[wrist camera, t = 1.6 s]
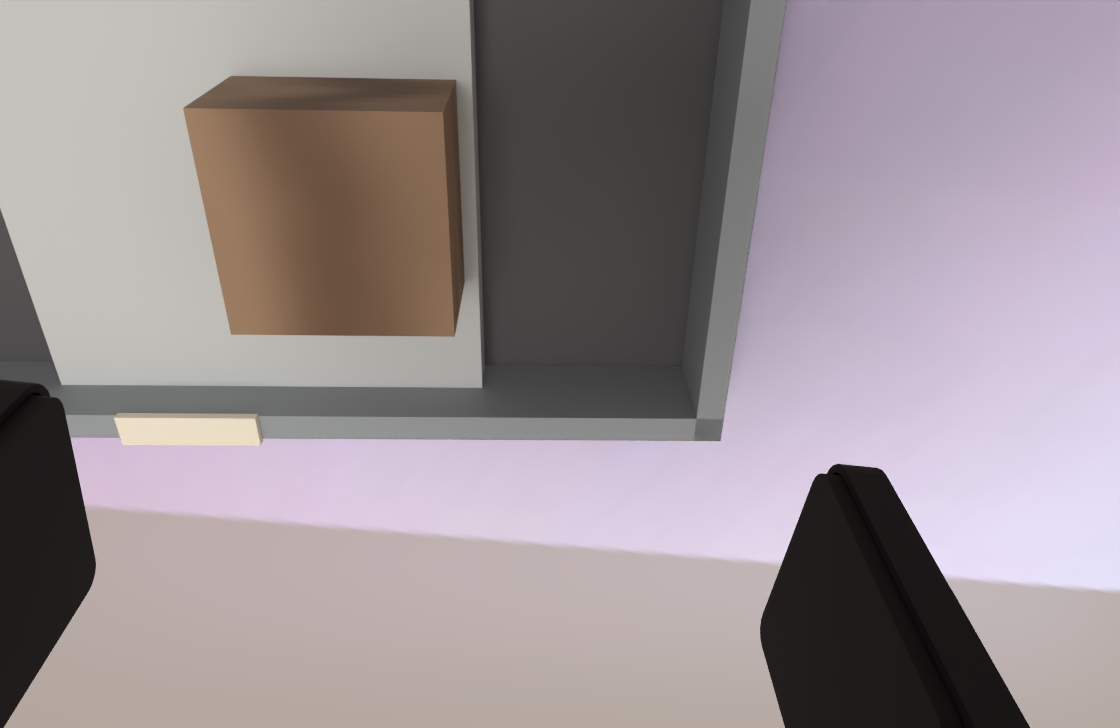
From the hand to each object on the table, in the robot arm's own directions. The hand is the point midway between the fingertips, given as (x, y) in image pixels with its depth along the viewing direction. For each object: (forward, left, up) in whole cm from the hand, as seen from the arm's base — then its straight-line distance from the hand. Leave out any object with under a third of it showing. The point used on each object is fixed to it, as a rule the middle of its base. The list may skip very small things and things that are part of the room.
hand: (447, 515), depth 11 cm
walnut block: (+5, +2, -19) cm, 20 cm away
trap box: (+9, +2, -21) cm, 23 cm away
